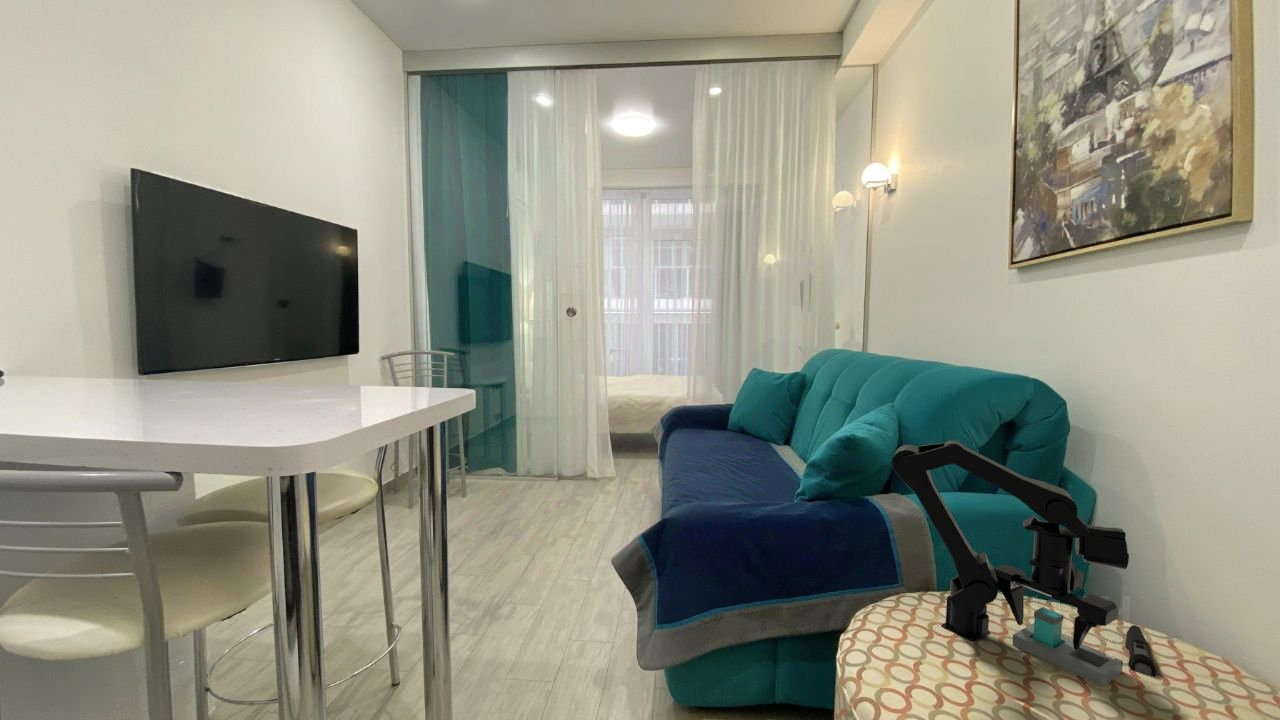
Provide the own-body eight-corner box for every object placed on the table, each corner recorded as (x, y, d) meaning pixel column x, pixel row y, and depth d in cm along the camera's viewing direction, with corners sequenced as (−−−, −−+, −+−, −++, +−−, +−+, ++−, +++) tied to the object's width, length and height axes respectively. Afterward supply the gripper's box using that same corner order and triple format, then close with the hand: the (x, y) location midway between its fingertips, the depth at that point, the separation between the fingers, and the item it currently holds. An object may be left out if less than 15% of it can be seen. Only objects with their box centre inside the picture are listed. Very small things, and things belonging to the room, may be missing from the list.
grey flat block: (1012, 647, 105) (1013, 633, 105) (1032, 635, 109) (1033, 622, 109) (1102, 689, 93) (1103, 674, 93) (1122, 674, 97) (1123, 659, 97)
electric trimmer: (1148, 643, 107) (1149, 627, 107) (1157, 682, 95) (1158, 664, 95) (1122, 636, 110) (1123, 621, 110) (1128, 673, 98) (1129, 656, 97)
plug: (1031, 647, 104) (1034, 611, 103) (1040, 642, 106) (1042, 606, 105) (1052, 656, 101) (1054, 620, 101) (1061, 651, 103) (1063, 615, 102)
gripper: (1133, 565, 98) (1127, 649, 99) (1019, 531, 114) (1014, 603, 115) (1107, 579, 93) (1101, 668, 94) (990, 541, 109) (986, 617, 110)
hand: (1047, 636), depth 103 cm, fingers open, 9 cm apart
